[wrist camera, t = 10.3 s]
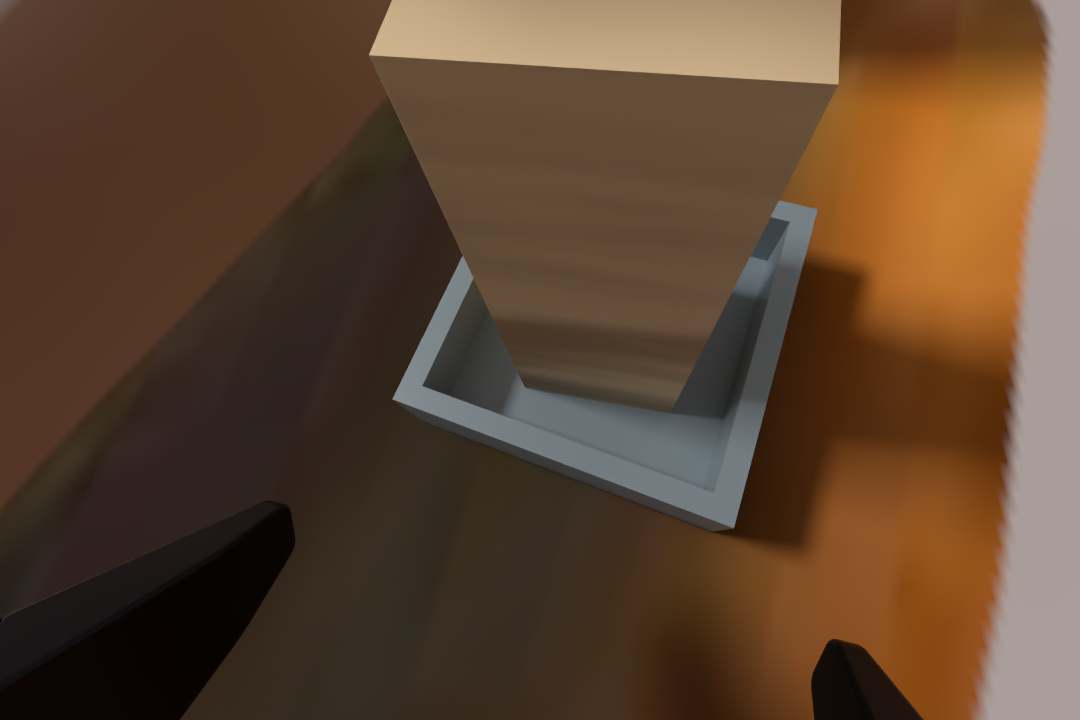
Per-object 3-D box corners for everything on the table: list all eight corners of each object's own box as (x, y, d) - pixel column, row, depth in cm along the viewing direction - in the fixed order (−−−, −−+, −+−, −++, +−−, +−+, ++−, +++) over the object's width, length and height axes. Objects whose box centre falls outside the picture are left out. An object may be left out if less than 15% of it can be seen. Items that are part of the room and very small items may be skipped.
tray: (711, 531, 16) (734, 528, 14) (423, 421, 19) (392, 399, 16) (786, 258, 19) (817, 209, 16) (529, 193, 22) (519, 139, 19)
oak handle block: (670, 413, 17) (839, 83, 5) (524, 388, 18) (369, 55, 6) (687, 281, 19) (848, -212, 7) (553, 264, 20) (477, -200, 7)
